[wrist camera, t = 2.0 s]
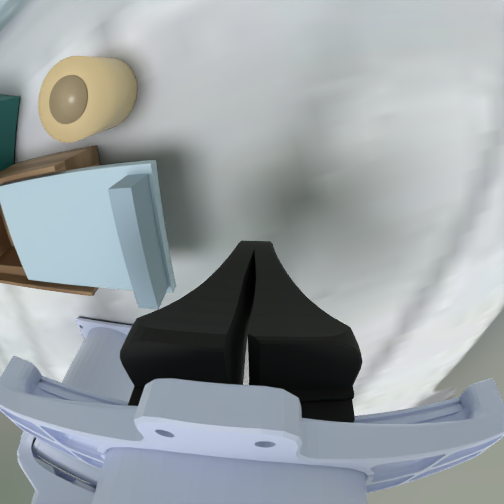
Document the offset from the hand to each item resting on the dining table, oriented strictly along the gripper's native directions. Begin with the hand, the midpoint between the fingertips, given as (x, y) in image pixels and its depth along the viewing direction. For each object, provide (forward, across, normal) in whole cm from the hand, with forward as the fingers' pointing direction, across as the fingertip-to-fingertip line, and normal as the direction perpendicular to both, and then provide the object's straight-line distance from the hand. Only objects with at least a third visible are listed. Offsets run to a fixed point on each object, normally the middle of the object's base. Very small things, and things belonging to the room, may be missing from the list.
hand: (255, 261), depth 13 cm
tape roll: (+7, +10, -8) cm, 15 cm away
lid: (+3, +12, 0) cm, 12 cm away
